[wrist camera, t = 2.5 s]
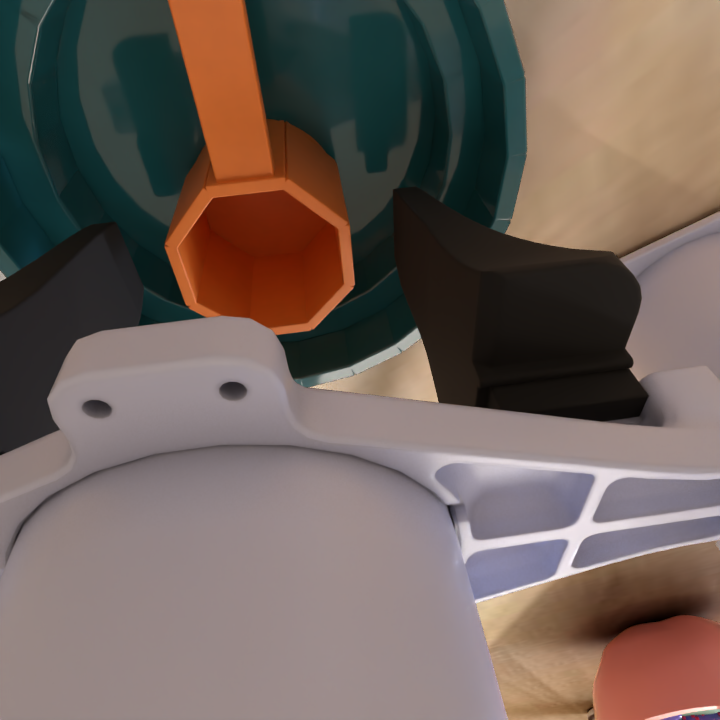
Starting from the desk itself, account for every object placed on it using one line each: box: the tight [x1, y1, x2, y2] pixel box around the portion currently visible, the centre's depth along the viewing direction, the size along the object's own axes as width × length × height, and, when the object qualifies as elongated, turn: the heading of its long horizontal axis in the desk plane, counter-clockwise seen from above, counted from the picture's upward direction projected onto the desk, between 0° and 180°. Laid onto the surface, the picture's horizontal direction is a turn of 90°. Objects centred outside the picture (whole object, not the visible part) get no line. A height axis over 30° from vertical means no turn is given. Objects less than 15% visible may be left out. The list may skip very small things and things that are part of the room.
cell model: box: [592, 615, 720, 720], centre depth 45 cm, size 17×20×11 cm
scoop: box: [164, 0, 355, 335], centre depth 13 cm, size 8×4×4 cm, turn 4°
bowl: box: [0, 0, 527, 388], centre depth 14 cm, size 13×13×4 cm
